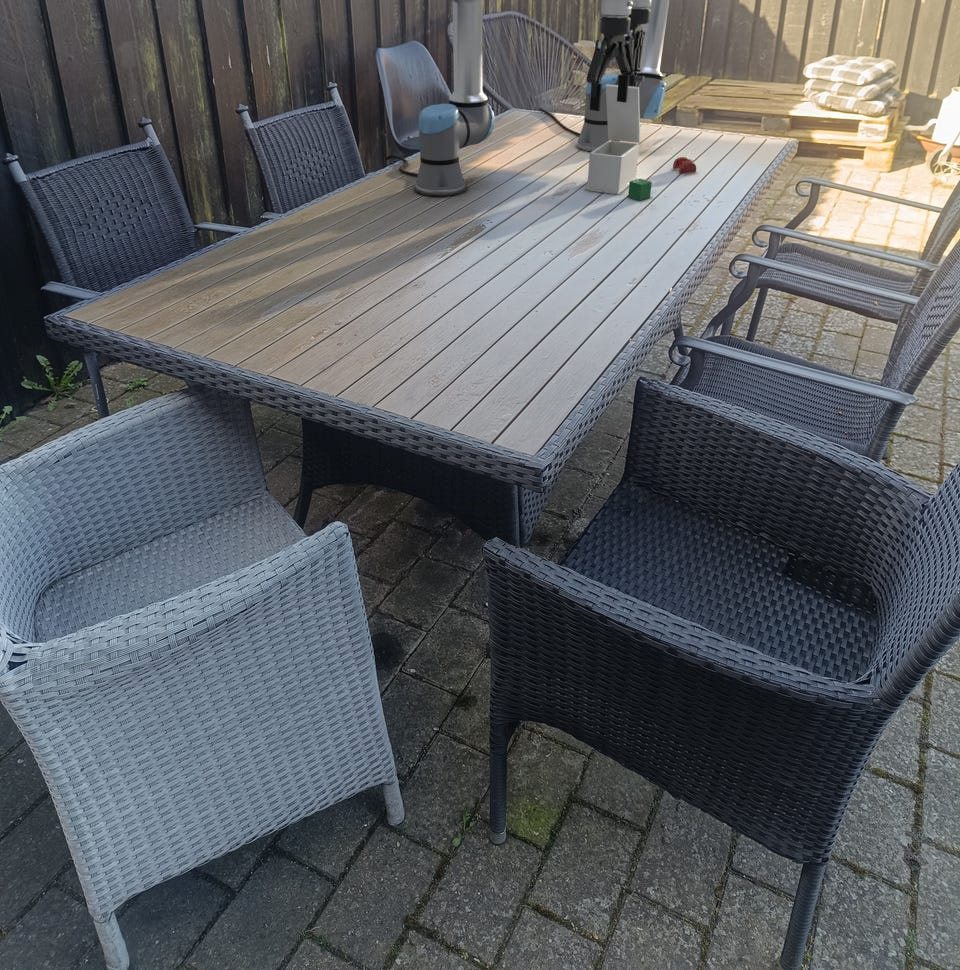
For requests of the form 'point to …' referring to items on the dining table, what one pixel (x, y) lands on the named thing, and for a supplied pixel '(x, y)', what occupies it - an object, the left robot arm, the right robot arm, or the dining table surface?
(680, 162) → the dark red rounded lump
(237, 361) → the dining table surface
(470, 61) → the left robot arm
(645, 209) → the dining table surface
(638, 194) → the block
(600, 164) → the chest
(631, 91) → the lid
